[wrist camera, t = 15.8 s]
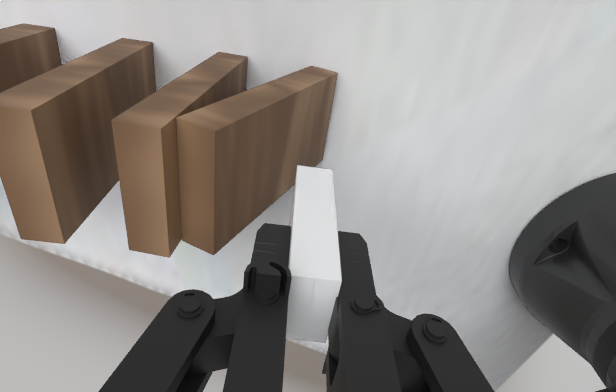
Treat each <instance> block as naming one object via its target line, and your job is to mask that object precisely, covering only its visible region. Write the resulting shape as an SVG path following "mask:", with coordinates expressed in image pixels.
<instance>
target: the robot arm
mask: <svg viewBox="0 0 616 392" xmlns="http://www.w3.org/2000/svg"><path fill="white" fill-rule="evenodd" d="M368 254H369V253H368V248H367V243H366V242H365V240H364V239H363V238H362V236H361V235H360V234H358V233H349V232H341V231H338V230H337V218H336V207H335V195H334V183H333V171H332V170H330V169H323V168H315V167H307V166H300V165H297V171H296V178H295V185H294V192H293V199H292V206H291V213H290V222H289V226H284V225H276V224H267V223H264V224H263V225H262V226H261V228H260V229H259V230H258V231H257V234H256V239H255V244H254V249H253V254H252V259H251V263H250V264H249V265H248V266H247V268H246V270H245V272H244V285H243V289H242V290H240V291H239V292H238V293H236V294H234V295H232V296H229V297H225V298H219V299H213V298H212V297H211V296H210V295H209V294H207V293H205V292H203V291H200V290H193V289H192V290H186V291H182V292H180V293H177V294H175V295H174V296H173V297H172V298H171V299H170V300H168V302H167V303H166V304H165V305H164V307H163V308H162V309H161V311H160V312H159V313H158V315H157V316H156V317H155V319H154V320H153V321H152V322H151V324H150V325H149V326H148V328H147V329H146V330H145V332H144V333H143V334H142V335H141V337H140V338H139V339H138V341H137V342H136V344H135V345H134V346H133V347H132V349H131V350H130V352H128V354H127V355H126V357H125V358H124V359H123V361H122V362H121V363H120V364H119V366H118V367H117V368H116V370H115V371H114V372H113V374H112V375H111V376H110V377H109V379H108V380H107V381H106V383H105V384H104V385H103V387H102V388H101V389H100V390H99V392H203V390H204V388H205V386H206V384H207V382H208V380H209V378H210V376H211V374H212V372H213V371H216V370H221V369H226V368H228V369H227V374H226V378H225V384H224V388H223V392H282V385H283V371H284V356H285V355H284V354H285V341H286V339H294V340H304V341H314V342H324V343H326V340H327V337H328V339H329V347H328V351H327V355H326V359H325V362H324V366H323V371H322V373H323V374H326V376H327V377H326V379H327V392H494V391H493V389H492V387H491V386H490V384H489V383H488V381H487V380H486V378H485V376H484V375H483V373H482V372H481V370H480V369H479V367H478V365H477V364H476V362H475V361H474V359H473V358H472V356H471V354H470V353H469V351H468V350H467V348H466V347H465V345H464V343H463V342H462V340H461V339H460V337H459V336H458V334H457V332H456V331H455V330H454V328H453V327H452V326H451V325H450V324H449V323H448V322H447V321H445V320H444V319H442V318H441V317H438V316H435V315H433V314H421V315H418V316H416V317H415V318H414V319H413V320H412V321H411V320H409V319H406V318H403V317H401V316H398V315H396V314H394V313H392V312H390V311H389V310H387V309H386V308H385V307H384V305H383V302H382V301H381V300H380V299H379V298H378V296H377V295H376V292H375V286H374V281H373V275H372V270H371V264H370V259H369V255H368ZM509 272H510V278H511V282H512V285H513V287H514V289H515V290H516V292H517V294H518V295H519V297H520V299H521V300H522V302H523V304H524V305H525V307H526V308H527V309H528V311H529V312H530V313H531V314H532V315H533V316H534V317H535V318H536V319H537V320H538V321H539V322H541V323H542V324H543V325H544V326H545V327H547V328H548V329H549V330H550V331H551V332H553V333H554V334H555V335H556V336H558V337H559V338H560V339H561V340H562V341H564V342H565V343H566V344H567V345H568V346H570V347H571V348H572V349H573V350H575V352H577V353H578V354H579V355H580V356H582V357H583V358H584V359H585V360H586V361H587V362H589V363H590V364H591V365H592V367H593V368H594V370H595V371H596V373H597V374H598V376H599V377H600V379H601V380H602V381H603V383H604V385H605V386H606V387H607V388H606V389H603V390H599V391H596V392H616V173H615V174H611V175H607V176H604V177H601V178H598V179H595V180H593V181H590V182H588V183H585V184H583V185H581V186H579V187H577V188H575V189H573V190H571V191H569V192H568V193H566V194H564V195H563V196H561V197H559V198H558V199H556V200H555V201H554V202H552V203H551V204H550V205H548V206H547V207H546V208H545V209H543V210H542V211H541V212H540V213H539V214H538V215H537V216H536V217H535V218H534V219H533V220H532V221H531V222H530V223H529V224H528V226H527V227H526V228H525V229H524V231H523V232H522V234H521V235H520V237H519V239H518V240H517V242H516V244H515V246H514V249H513V251H512V255H511V259H510V266H509Z"/></svg>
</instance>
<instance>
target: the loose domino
mask: <svg viewBox="0 0 616 392" xmlns="http://www.w3.org/2000/svg"><path fill="white" fill-rule="evenodd" d="M337 74H338V73H336V72H333V71H329V70H325V69H321V68H318V67H314V66H310V67H307V68H304V69H302V70H299V71H297V72H294V73H291V74H289V75H286V76H284V77H281V78H278V79H276V80H273V81H270V82H268V83H265V84H263V85H260V86H257V87H255V88H252V89H250V90H247V91H244V92H242V93H239V94H237V95H234V96H231V97H229V98H226V99H223V100H221V101H218V102H216V103H213V104H210V105H208V106H205V107H203V108H200V109H197V110H195V111H192V112H190V113H187V114H184V115H182V116H179V117H176V123H177V145H178V167H179V189H180V211H181V233H182V241H185V242H187V243H189V244H191V245H193V246H195V247H197V248H199V249H201V250H204V251H206V252H208V253H210V254H212V255H214V254H216V253H217V252H218V251H219V250H220V249H221V248H222V247H224V246H225V245H226V244H227V243H228V242H229V241H230V240H232V239H233V238H234V237H235V236H236V235H237V234H238V233H240V232H241V231H242V230H243V229H244V228H245V227H246V226H247V225H249V224H250V223H251V222H252V221H253V220H254V219H255V218H257V217H258V216H259V215H260V214H261V213H262V212H263V211H265V210H266V209H267V208H268V207H269V206H270V205H271V204H273V203H274V202H275V201H276V200H277V199H278V198H279V197H281V196H282V195H283V194H284V193H285V192H286V191H287V190H289V189H290V188H291V187H292V186H293V185H294V184H295V178H296V171H297V165H300V166H307V167H315V166H316V165H317V164H318V163H319V162H320V161H322V159H323V153H324V147H325V142H326V136H327V130H328V125H329V119H330V113H331V108H332V102H333V96H334V91H335V85H336V79H337Z"/></svg>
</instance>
